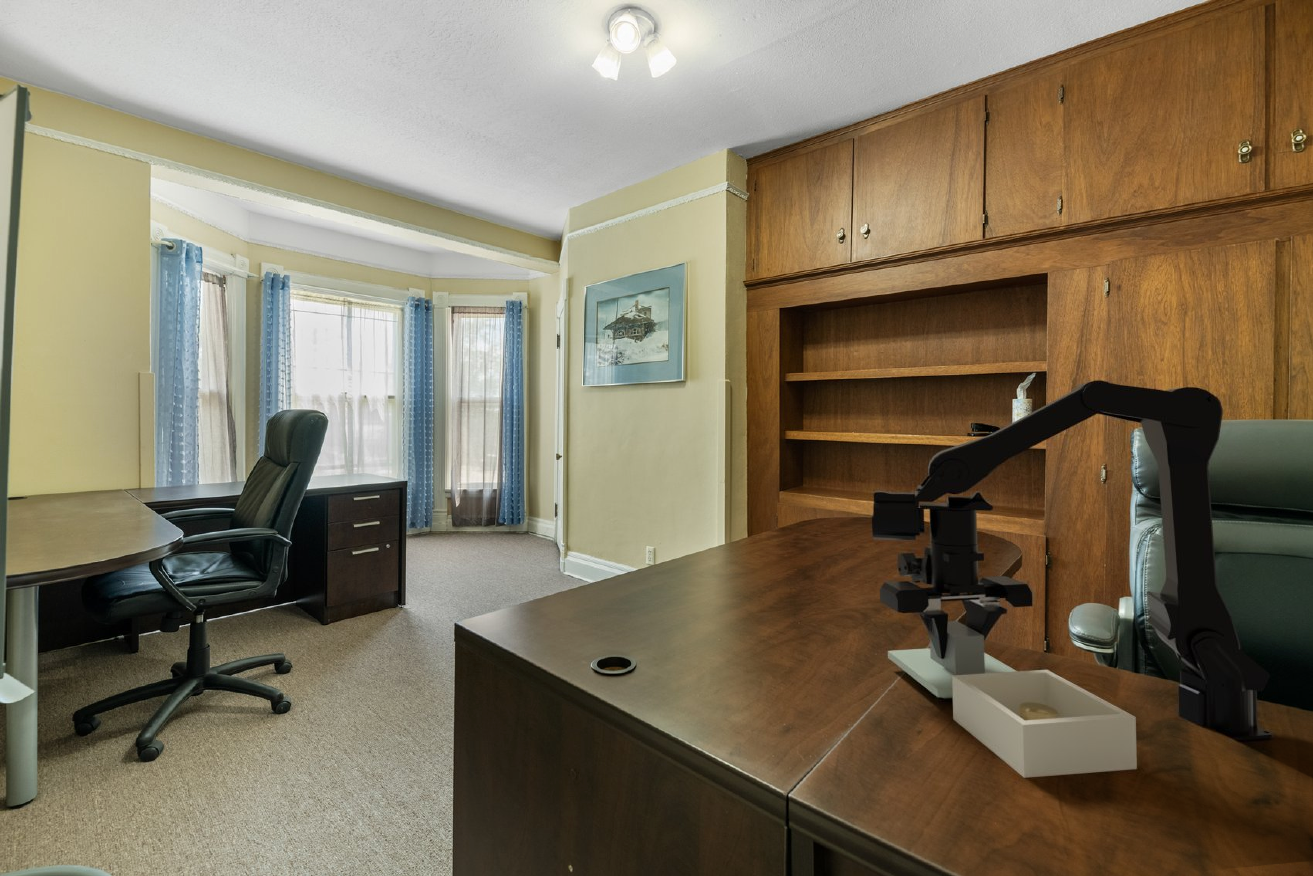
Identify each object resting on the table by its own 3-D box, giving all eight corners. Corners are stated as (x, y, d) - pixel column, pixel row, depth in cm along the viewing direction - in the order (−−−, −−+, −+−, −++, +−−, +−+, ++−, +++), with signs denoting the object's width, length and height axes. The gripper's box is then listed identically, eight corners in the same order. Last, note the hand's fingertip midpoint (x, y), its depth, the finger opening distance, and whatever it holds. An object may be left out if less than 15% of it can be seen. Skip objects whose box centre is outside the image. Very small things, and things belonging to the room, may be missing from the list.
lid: (973, 659, 86) (971, 612, 86) (1037, 698, 73) (1035, 643, 73) (888, 664, 85) (886, 616, 85) (937, 705, 72) (936, 649, 72)
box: (1047, 719, 71) (1046, 669, 71) (1136, 776, 59) (1135, 717, 59) (953, 725, 70) (952, 675, 70) (1024, 785, 58) (1023, 724, 58)
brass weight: (1042, 727, 67) (1041, 701, 67) (1066, 743, 64) (1066, 716, 64) (1012, 729, 67) (1012, 703, 67) (1035, 745, 64) (1034, 718, 64)
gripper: (981, 530, 88) (983, 633, 88) (861, 535, 87) (864, 640, 87) (1034, 543, 77) (1037, 661, 77) (898, 549, 75) (901, 670, 76)
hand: (956, 657), depth 79 cm, fingers open, 4 cm apart
